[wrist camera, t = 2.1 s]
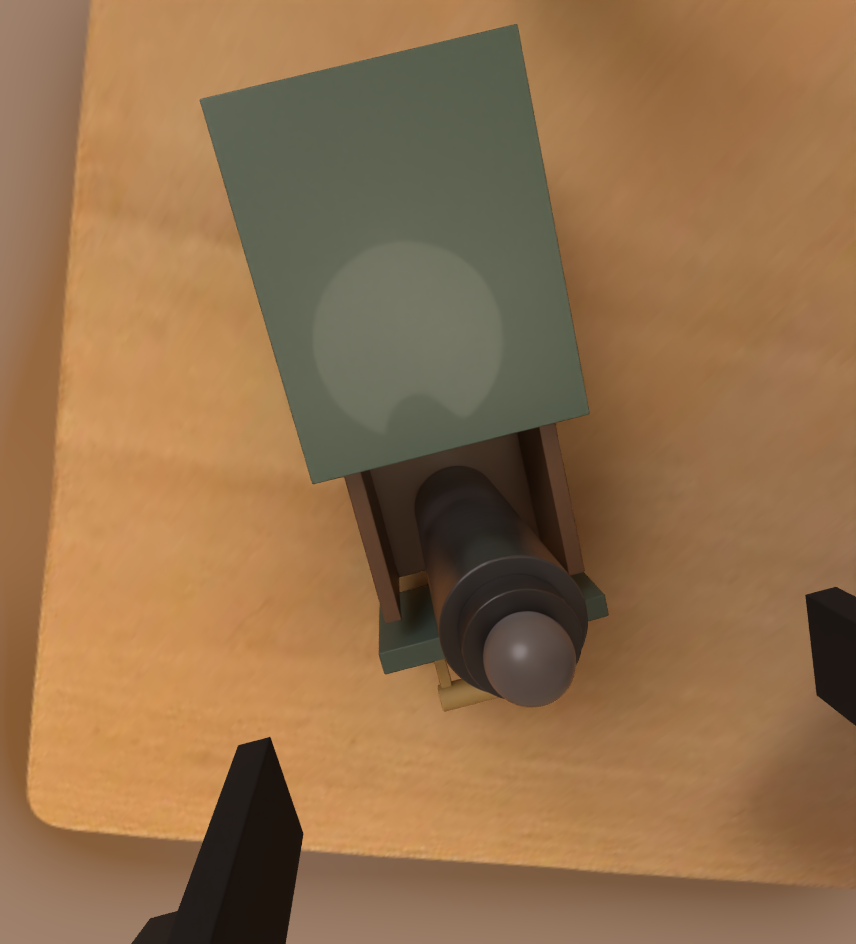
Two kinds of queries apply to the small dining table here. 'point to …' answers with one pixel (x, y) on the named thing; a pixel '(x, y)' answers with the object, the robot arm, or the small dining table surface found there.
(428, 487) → the pepper mill
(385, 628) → the drawer
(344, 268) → the cabinet
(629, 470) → the small dining table surface
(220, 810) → the robot arm
